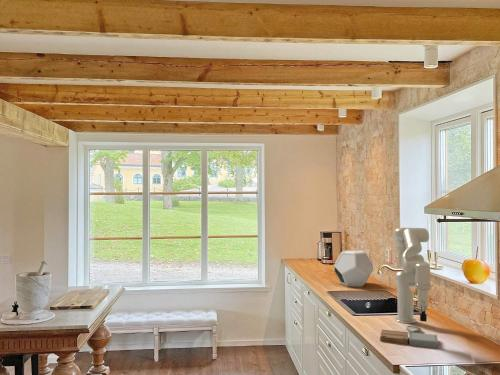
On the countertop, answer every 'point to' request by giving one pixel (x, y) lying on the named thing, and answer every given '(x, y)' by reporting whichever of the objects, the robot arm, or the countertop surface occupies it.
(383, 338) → the walnut stand
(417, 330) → the stone
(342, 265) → the dodecahedron
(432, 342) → the slate stand
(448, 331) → the countertop surface
